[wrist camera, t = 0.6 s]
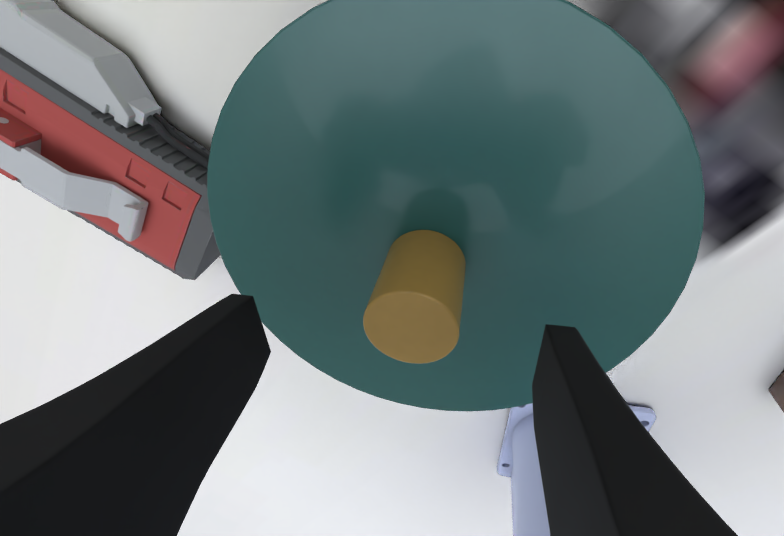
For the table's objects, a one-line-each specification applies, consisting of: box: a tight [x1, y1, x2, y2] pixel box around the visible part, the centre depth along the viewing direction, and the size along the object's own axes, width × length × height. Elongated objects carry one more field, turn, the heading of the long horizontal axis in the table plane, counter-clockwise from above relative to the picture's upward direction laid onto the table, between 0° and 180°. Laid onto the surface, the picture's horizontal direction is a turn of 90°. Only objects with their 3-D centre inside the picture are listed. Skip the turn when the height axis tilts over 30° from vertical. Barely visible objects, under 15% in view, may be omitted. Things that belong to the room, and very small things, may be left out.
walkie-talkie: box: [0, 0, 221, 280], centre depth 18 cm, size 9×4×20 cm
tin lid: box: [207, 0, 705, 411], centre depth 12 cm, size 15×15×4 cm
